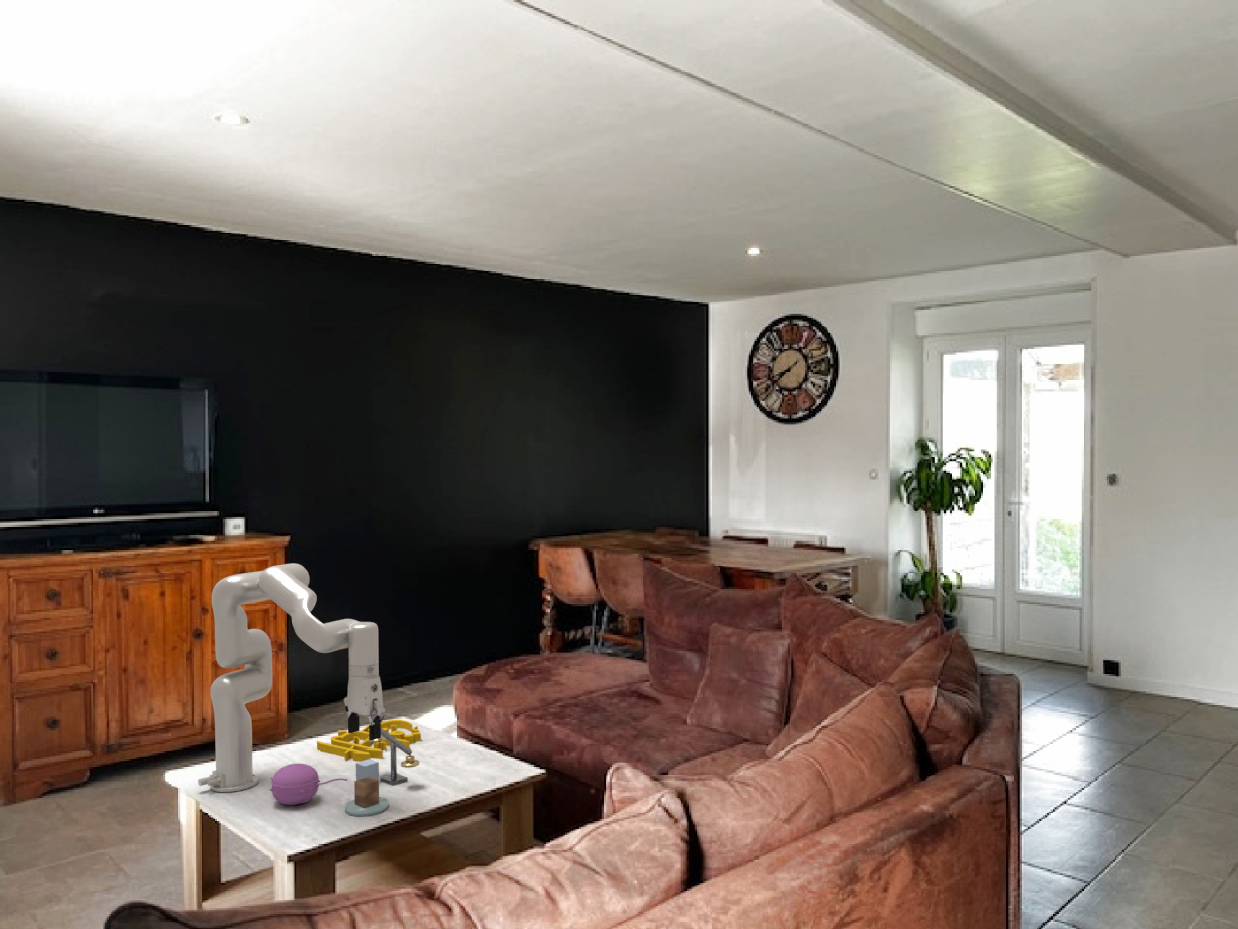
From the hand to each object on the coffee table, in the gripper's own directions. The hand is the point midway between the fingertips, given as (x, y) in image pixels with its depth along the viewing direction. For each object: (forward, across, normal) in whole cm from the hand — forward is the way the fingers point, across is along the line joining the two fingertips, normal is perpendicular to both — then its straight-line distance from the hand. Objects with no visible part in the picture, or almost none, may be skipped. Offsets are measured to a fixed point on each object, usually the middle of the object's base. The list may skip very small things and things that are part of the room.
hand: (364, 735), depth 244 cm
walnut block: (+17, -2, 0) cm, 17 cm away
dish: (+19, -2, 0) cm, 19 cm away
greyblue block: (+19, +14, -10) cm, 26 cm away
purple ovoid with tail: (+19, +14, +8) cm, 25 cm away
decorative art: (+20, +46, -34) cm, 60 cm away
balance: (+19, +11, -16) cm, 27 cm away
